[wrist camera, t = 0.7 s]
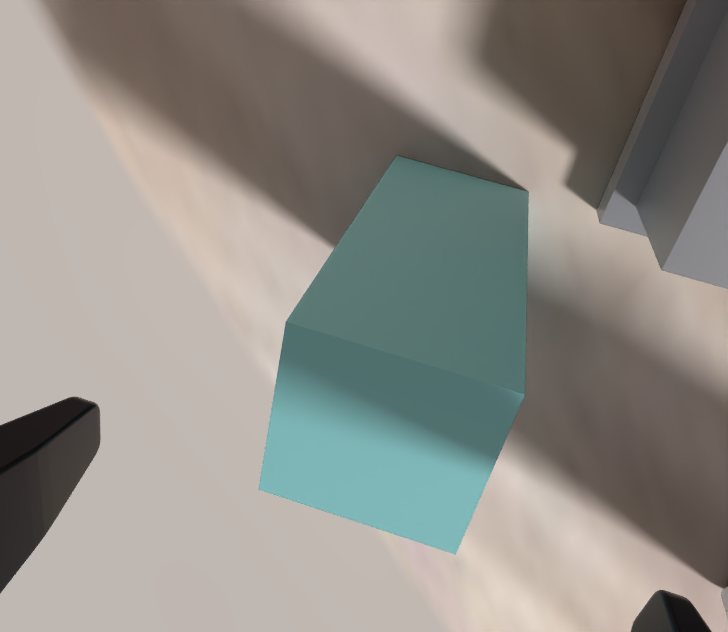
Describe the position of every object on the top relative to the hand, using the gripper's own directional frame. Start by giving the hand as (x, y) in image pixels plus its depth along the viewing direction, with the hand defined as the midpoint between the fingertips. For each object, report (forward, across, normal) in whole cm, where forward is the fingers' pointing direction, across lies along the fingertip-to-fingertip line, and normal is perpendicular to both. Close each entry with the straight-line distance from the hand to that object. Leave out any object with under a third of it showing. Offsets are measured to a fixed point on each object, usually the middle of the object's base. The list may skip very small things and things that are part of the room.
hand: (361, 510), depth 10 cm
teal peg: (+12, 0, 0) cm, 12 cm away
